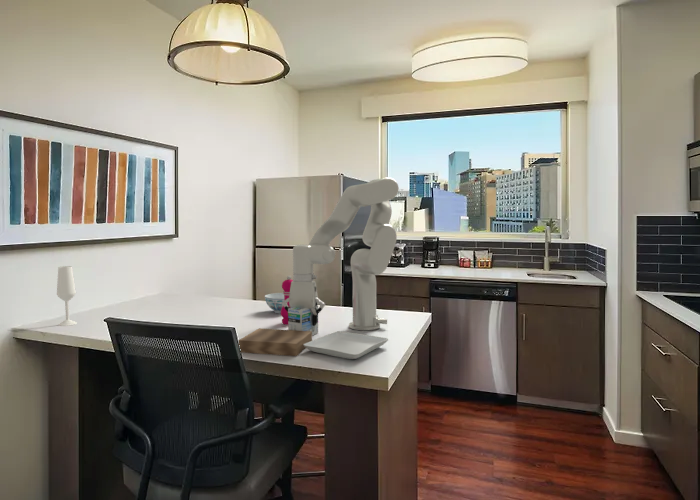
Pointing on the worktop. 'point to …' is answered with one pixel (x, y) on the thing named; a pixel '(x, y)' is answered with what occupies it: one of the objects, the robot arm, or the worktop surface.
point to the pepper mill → (286, 293)
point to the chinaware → (275, 301)
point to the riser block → (275, 342)
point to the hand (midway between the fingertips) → (303, 324)
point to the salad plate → (345, 344)
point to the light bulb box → (301, 320)
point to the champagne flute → (66, 290)
